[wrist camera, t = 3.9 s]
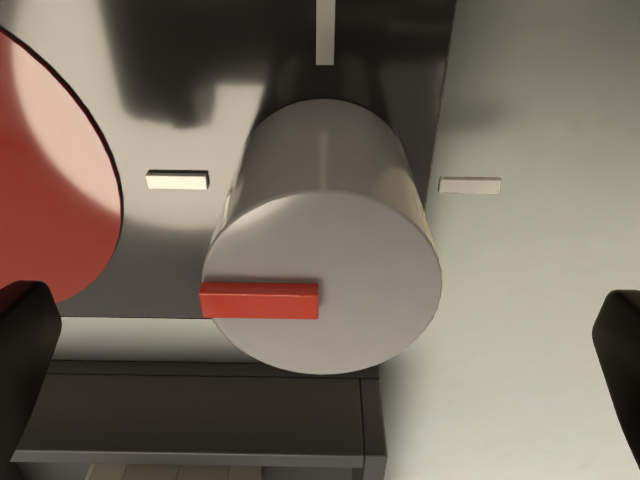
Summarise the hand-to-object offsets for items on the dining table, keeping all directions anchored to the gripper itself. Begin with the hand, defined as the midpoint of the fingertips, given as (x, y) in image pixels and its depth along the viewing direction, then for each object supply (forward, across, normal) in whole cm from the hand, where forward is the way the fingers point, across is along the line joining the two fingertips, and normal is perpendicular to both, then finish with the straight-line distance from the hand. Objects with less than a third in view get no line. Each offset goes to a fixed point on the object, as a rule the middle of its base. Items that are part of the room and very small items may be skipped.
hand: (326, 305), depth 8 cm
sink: (+6, +6, +14) cm, 16 cm away
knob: (+4, 0, 0) cm, 4 cm away
